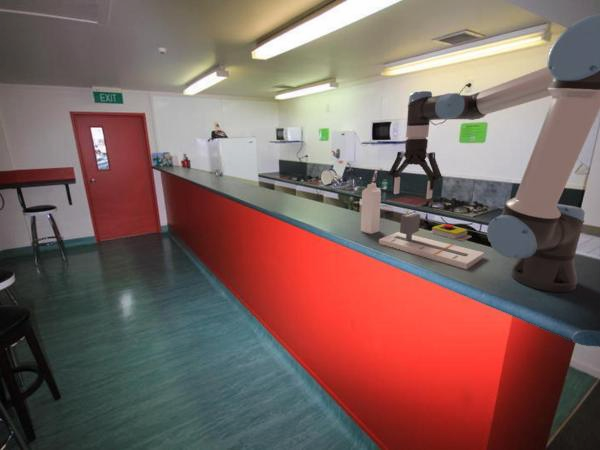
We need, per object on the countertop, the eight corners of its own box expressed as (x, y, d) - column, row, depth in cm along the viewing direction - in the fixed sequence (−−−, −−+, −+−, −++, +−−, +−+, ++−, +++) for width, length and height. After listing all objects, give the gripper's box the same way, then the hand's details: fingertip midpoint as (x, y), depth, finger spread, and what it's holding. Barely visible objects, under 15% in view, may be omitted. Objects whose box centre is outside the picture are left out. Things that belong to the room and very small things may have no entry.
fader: (418, 238, 121) (420, 213, 118) (408, 242, 116) (410, 217, 114) (409, 236, 124) (411, 212, 121) (399, 240, 119) (401, 215, 117)
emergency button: (441, 220, 139) (473, 228, 127) (440, 229, 141) (472, 238, 128) (428, 223, 135) (461, 232, 123) (427, 233, 136) (459, 242, 124)
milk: (379, 231, 139) (382, 183, 133) (370, 234, 135) (373, 185, 129) (368, 228, 144) (370, 182, 137) (360, 231, 140) (362, 183, 134)
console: (483, 257, 107) (484, 251, 106) (466, 269, 98) (467, 262, 97) (398, 236, 132) (398, 231, 131) (379, 243, 123) (379, 238, 123)
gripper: (456, 137, 102) (449, 199, 108) (392, 138, 121) (389, 190, 127) (446, 138, 98) (439, 202, 104) (381, 138, 116) (378, 193, 122)
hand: (411, 196), depth 115 cm, fingers open, 13 cm apart
